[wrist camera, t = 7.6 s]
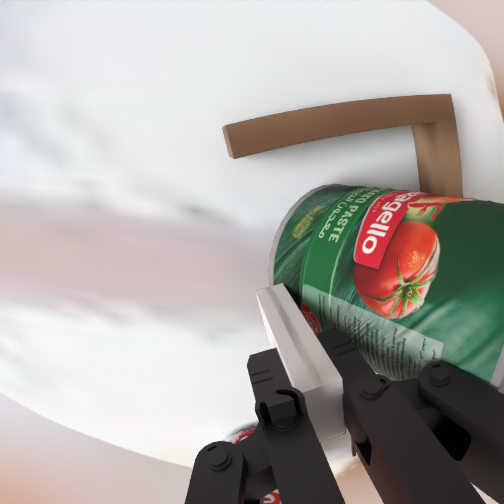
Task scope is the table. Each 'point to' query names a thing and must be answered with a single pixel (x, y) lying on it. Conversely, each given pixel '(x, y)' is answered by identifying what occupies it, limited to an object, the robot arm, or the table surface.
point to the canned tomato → (399, 276)
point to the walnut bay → (365, 119)
